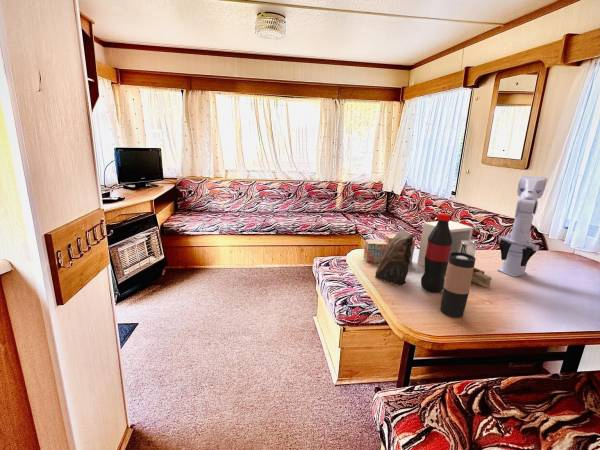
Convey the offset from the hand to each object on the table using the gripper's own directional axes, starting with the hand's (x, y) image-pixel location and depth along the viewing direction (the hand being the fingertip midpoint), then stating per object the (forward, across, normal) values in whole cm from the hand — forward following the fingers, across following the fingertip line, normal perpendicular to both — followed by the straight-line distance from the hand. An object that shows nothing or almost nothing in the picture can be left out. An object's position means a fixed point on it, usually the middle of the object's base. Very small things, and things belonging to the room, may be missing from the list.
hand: (512, 262), depth 128 cm
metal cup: (+10, -14, -10) cm, 20 cm away
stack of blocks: (+11, -38, -30) cm, 50 cm away
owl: (+12, -22, -42) cm, 49 cm away
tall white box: (+10, -24, -10) cm, 28 cm away
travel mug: (+13, +7, -41) cm, 43 cm away
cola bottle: (+12, -8, -34) cm, 37 cm away
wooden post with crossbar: (+10, -11, -11) cm, 18 cm away
